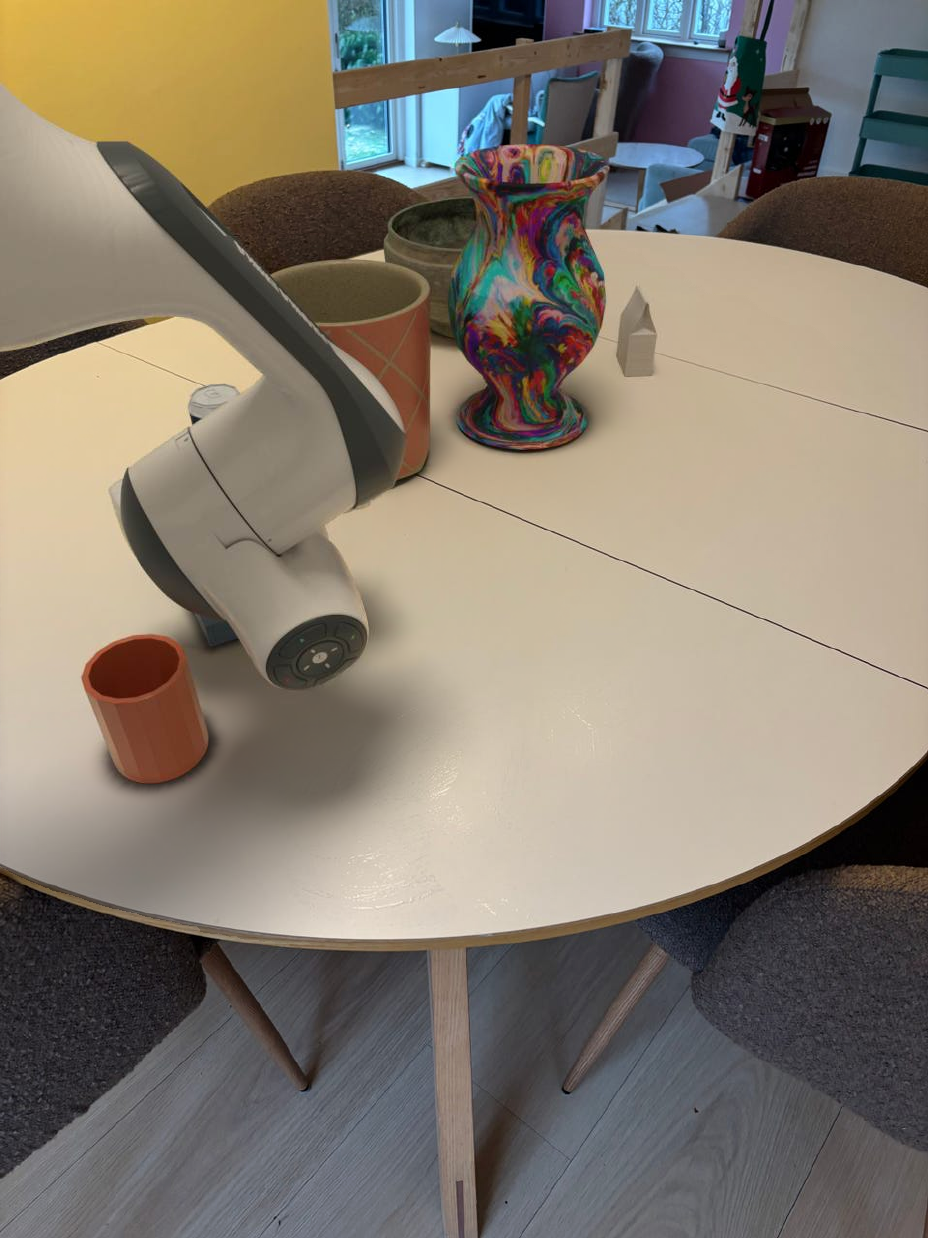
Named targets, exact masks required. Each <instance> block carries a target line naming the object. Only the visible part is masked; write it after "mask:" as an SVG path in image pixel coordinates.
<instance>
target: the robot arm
mask: <svg viewBox="0 0 928 1238" xmlns="http://www.w3.org/2000/svg"><path fill="white" fill-rule="evenodd" d="M167 317H171V318H183V319H187V320H193V321H196V322H198V323H201V324H203V325H205V326H207V327H208V328H210V329H211V330H213V331H214V332H215V333H216V334H217V335H218V336H219V337H220V338H221V339H223V340H224V341H225V342H226V343H227V344H228V345H229V346H231V348H233V349H234V350H235V351H236V352H237V353H238V354H239V355H240V356H242V357H243V358H244V359H245V360H246V361H247V362H248V363H249V364H251V366H253V367H254V369H256V370H257V371H258V372H259V373H260V374H262V375H261V376H260V378H259V379H257V380H256V382H255V383H253V384H252V385H251V386H249V387H248V388H246V389H245V390H243V391H242V392H239V393H240V394H239V395H237V396H236V397H234V398H233V399H231V400H230V401H228V402H227V403H225V404H224V405H222V406H221V407H219V408H218V409H216V410H215V411H213V412H211V413H210V414H208V415H207V416H205V417H204V418H202V419H201V420H199V421H198V422H196V423H195V424H193V425H192V424H191V425H190V426H187V427H185V428H184V429H182V430H181V431H179V432H178V433H176V434H175V435H173V436H172V437H170V438H168V439H167V440H166V441H164V442H163V443H161V444H160V445H158V446H156V447H155V448H154V449H152V450H151V451H150V452H148V453H146V454H145V455H143V456H142V457H141V458H140V459H138V460H137V461H136V462H134V463H133V464H132V465H130V466H128V467H126V469H125V472H124V474H123V476H122V478H120V479H117V481H115V482H114V483H112V484H111V486H110V487H108V494H109V497H110V500H111V504H112V508H113V511H114V514H115V516H116V519H117V522H118V525H119V529H120V532H121V533H122V536H123V538H124V540H125V542H126V544H127V546H128V548H129V550H130V551H131V552H132V554H133V555H134V557H135V558H136V560H137V561H138V562H137V563H139V565H140V567H141V568H142V570H143V571H144V573H145V575H147V576H148V578H149V579H150V580H151V581H152V583H153V584H154V585H155V586H156V587H157V588H158V589H159V591H161V592H162V593H163V594H164V595H165V596H166V597H167V598H168V599H170V601H172V602H173V603H175V604H176V605H178V606H179V607H181V608H183V609H184V610H186V611H189V612H191V613H193V614H194V613H196V614H199V615H201V616H204V617H207V618H210V619H213V620H217V621H223V622H225V621H226V620H227V622H228V623H229V625H230V626H231V627H232V629H233V630H234V632H235V634H236V635H237V637H238V640H239V642H240V644H241V645H242V647H243V648H244V650H245V652H246V654H247V655H248V657H249V658H250V660H251V661H252V663H253V665H254V666H255V668H256V669H257V671H258V672H259V674H260V675H261V676H262V677H263V678H264V679H265V680H266V681H267V682H268V683H269V684H271V685H272V686H274V687H276V688H278V689H282V690H287V691H301V690H302V691H303V690H308V689H313V688H315V687H318V686H321V685H324V684H326V683H327V682H329V681H331V680H332V679H334V678H336V677H338V676H339V675H341V674H342V673H343V672H345V671H346V670H348V669H349V668H350V667H352V666H353V665H354V663H356V662H357V661H358V660H359V658H360V657H361V656H362V654H363V653H364V651H365V649H366V647H367V644H368V641H369V637H370V636H369V634H370V629H369V621H368V616H367V613H366V609H365V606H364V603H363V600H362V597H361V594H360V591H359V589H358V587H357V584H356V581H355V579H354V577H353V574H352V571H351V570H350V568H349V566H348V564H347V561H345V558H344V557H343V555H342V553H341V552H340V550H339V549H338V547H337V546H336V545H335V544H334V543H333V542H332V541H331V540H330V535H329V533H328V529H327V527H326V525H328V524H329V523H332V521H334V520H336V519H338V518H339V517H340V516H341V515H343V514H348V513H352V512H354V511H357V510H363V509H365V508H368V507H370V506H371V504H372V502H373V501H376V500H377V499H378V498H379V497H381V496H382V494H384V493H385V492H388V491H390V490H391V489H392V488H394V487H395V485H396V482H397V481H398V480H397V477H398V475H399V472H400V468H401V465H402V462H403V459H404V455H405V450H406V445H407V439H408V437H407V435H406V434H405V429H404V425H403V421H402V418H401V416H400V413H399V411H398V409H397V407H396V405H395V403H394V402H393V400H392V398H391V397H390V395H389V394H388V392H387V391H386V390H385V388H384V387H383V386H382V384H381V383H380V382H379V381H378V379H377V378H376V377H375V376H374V375H373V374H372V373H371V372H370V371H369V370H368V369H367V368H365V367H364V366H363V365H362V364H361V363H359V362H358V361H357V360H355V359H354V358H353V357H351V356H350V355H348V354H347V353H346V352H344V351H343V350H341V349H340V348H339V347H338V346H337V345H336V344H335V343H334V342H333V341H332V340H331V339H330V338H329V337H328V336H327V335H326V334H325V333H324V332H323V331H322V330H321V329H320V328H319V327H318V326H317V325H316V324H315V323H314V322H313V321H312V319H311V318H310V317H309V316H308V315H307V314H306V313H305V312H304V311H303V310H302V309H301V308H300V307H299V306H298V304H297V303H296V302H295V301H294V300H293V299H292V298H291V297H290V296H289V295H288V294H287V293H286V291H285V290H284V289H283V288H282V287H281V286H280V285H279V284H278V283H277V282H276V281H275V280H274V279H273V277H272V276H271V274H270V273H269V272H268V271H267V270H266V269H265V267H263V266H262V265H261V263H260V262H259V260H257V259H256V258H255V257H254V256H253V255H252V254H251V252H249V250H248V249H247V248H246V247H245V246H244V245H243V244H242V243H241V242H240V241H239V240H238V239H237V238H236V236H235V235H234V234H233V233H232V232H231V231H230V230H229V229H228V228H227V227H226V226H225V225H224V224H223V223H222V222H221V221H220V220H219V219H218V218H217V216H215V214H214V213H212V212H211V211H210V209H209V208H208V207H206V205H205V204H204V203H203V202H202V201H201V200H200V199H199V198H198V197H197V196H196V195H195V194H193V192H192V191H191V190H190V189H189V188H188V187H187V186H186V185H185V184H184V183H183V182H182V181H181V180H179V178H178V177H176V175H174V173H172V172H171V171H170V170H168V169H167V167H165V166H164V165H163V164H162V163H161V162H159V161H158V160H157V159H155V158H154V157H153V156H151V155H150V154H149V153H148V152H145V150H143V149H142V148H139V147H138V146H136V145H134V144H133V143H131V142H130V141H127V140H126V141H125V140H121V141H119V140H118V141H117V140H116V141H114V140H110V141H107V140H106V141H105V140H104V141H102V140H100V141H96V142H93V141H91V140H88V139H86V138H83V137H81V136H78V135H77V134H74V133H71V132H70V131H67V130H66V129H63V128H62V127H60V126H58V125H56V124H55V123H53V122H51V121H49V120H47V119H46V118H44V117H43V116H41V115H40V114H38V112H37V113H36V112H35V111H34V110H33V109H31V108H30V107H29V106H27V105H26V104H25V103H23V102H22V101H21V100H20V99H19V98H17V96H15V94H13V93H12V92H11V91H10V90H9V89H8V88H7V87H6V86H5V85H4V84H3V83H2V82H1V81H0V353H1V352H10V351H16V350H21V349H25V348H30V347H34V346H36V345H40V344H43V343H47V342H48V341H49V342H50V341H53V340H55V339H59V338H62V337H65V336H68V335H73V334H75V333H76V334H77V333H79V332H82V331H87V330H90V329H91V330H92V329H94V328H98V327H103V326H107V325H113V324H118V323H122V322H129V321H134V320H135V321H136V320H142V319H151V318H152V319H153V318H167Z"/></svg>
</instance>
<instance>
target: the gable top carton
mask: <svg viewBox="0 0 928 1238" xmlns="http://www.w3.org/2000/svg"><path fill="white" fill-rule="evenodd" d="M657 339H658V333H657V330H656V327H655V324H654V322H653V319H652V315H651V311H650V304H649V302H648V300H647V298H646V296H645V294H644V292H643V290H642V288H641V287H640V285H636V286H635V288H634V291H633V292H632V295H631V296H630V299H629V300H628V302H627V304H626V305H625V307H624V309H623V311H622V312H621V314H620V318H619V326H618V337H617V343H616V344H617V346H616V355H615V356H616V359H617V361H618V364H619V366H620V368H621V371H622V374H623V376H624V377H651V376H652V375H653V367H654V359H655V352H656V345H657Z"/></svg>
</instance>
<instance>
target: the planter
mask: <svg viewBox="0 0 928 1238" xmlns="http://www.w3.org/2000/svg"><path fill="white" fill-rule="evenodd" d="M270 275H271V276H272V277H273V279H274V280H275V281H276V282H277V283H278V284H279V285H280V286H281V287H282V288H283V289H284V290H285V291H286V293H287V294H288V295H289V296H290V297H291V298H292V299H293V300H294V301H295V302H296V303H297V304H298V306H299V307H300V308H301V309H302V310H303V311H304V312H305V313H306V314H307V315H308V316H309V317H310V318H311V319H312V321H313V322H314V323H315V324H316V325H317V326H318V327H319V328H320V329H321V330H322V331H323V332H324V333H325V334H326V335H327V336H328V337H329V338H330V339H331V340H332V341H333V342H334V343H335V344H336V345H337V346H338V347H339V348H340V349H341V350H343V351H344V352H346V353H347V354H348V355H350V356H351V357H353V358H354V359H355V360H357V361H358V362H359V363H361V364H362V365H363V366H364V367H365V368H367V369H368V370H369V371H370V372H371V373H372V374H373V375H374V376H375V377H376V378H377V379H378V381H379V382H380V383H381V384H382V386H383V387H384V388H385V390H386V391H387V392H388V394H389V395H390V397H391V398H392V400H393V402H394V403H395V405H396V407H397V409H398V411H399V413H400V416H401V418H402V421H403V425H404V429H405V434H406V435H407V437H408V439H407V445H406V450H405V455H404V459H403V462H402V465H401V468H400V472H399V475H398V477H397V480H396V481H399V480H401V479H404V478H407V477H410V476H413V475H415V474H417V473H420V472H421V470H422V469H423V468H424V466H425V462H426V459H427V456H428V455H429V454H428V453H429V450H430V443H431V328H430V287H429V284H428V282H427V280H426V279H425V278H424V277H423V276H421V275H420V274H419V273H417V272H415V271H413V270H411V269H408V268H406V267H403V266H400V265H396V264H392V263H387V262H385V261H380V260H371V259H357V258H355V259H351V258H350V259H346V258H345V259H330V260H329V259H328V260H320V261H313V262H307V263H302V264H298V265H293V266H290V267H286V268H283V269H280V270H278V271H275V272H272V273H271V274H270Z"/></svg>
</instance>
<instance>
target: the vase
mask: <svg viewBox="0 0 928 1238" xmlns="http://www.w3.org/2000/svg"><path fill="white" fill-rule="evenodd" d="M610 167H611V166H610V163H608V161H607V160H606V159H605V158H604V157H603V156H600V155H599V154H597V153H594V152H591V151H588V150H585V149H581V148H575V147H571V146H564V145H563V146H562V145H555V144H537V143H534V144H532V143H531V144H530V143H529V144H528V143H527V144H526V143H522V144H505V145H498V146H497V145H496V146H489V147H484V148H479V149H476V150H473V151H470V152H468V153H465V154H463V155H462V156H461V157H459V158H458V159H457V160H456V161H455V163H454V166H453V168H454V173H455V175H456V176H457V178H458V179H459V180H460V181H461V182H462V183H463V184H464V186H465V187H466V188H467V189H468V191H469V193H470V195H471V197H473V199H474V201H475V204H476V224H475V226H474V228H473V230H472V232H471V234H470V236H469V238H468V241H467V243H466V245H465V247H464V248H463V250H462V252H461V254H460V256H459V258H458V260H457V262H456V264H455V265H454V267H453V269H452V272H451V278H450V285H449V291H448V297H447V300H448V310H449V321H450V325H451V328H452V332H453V335H454V338H453V339H454V342H455V344H456V346H457V347H458V349H459V351H460V352H461V354H462V355H463V356H464V358H465V359H466V361H467V363H469V365H471V366H472V368H474V370H476V372H478V373H479V374H480V376H482V378H483V380H484V382H485V383H486V386H485V387H484V389H483V388H482V389H481V390H479V391H477V392H474V393H473V394H471V395H470V396H469V397H468V398H467V399H465V401H463V403H462V404H461V405H460V406H459V408H458V409H457V411H456V417H455V418H456V422H457V425H458V426H459V428H460V429H461V430H462V432H464V434H466V435H467V436H469V437H470V438H471V439H474V440H476V441H478V442H481V443H483V444H486V445H490V446H493V447H496V448H502V449H509V450H539V449H546V448H552V447H556V446H559V445H562V444H565V443H567V442H570V441H572V440H573V439H576V438H577V437H578V436H580V434H581V433H583V432H584V430H585V429H586V427H587V425H588V420H589V419H588V414H587V411H586V409H584V407H583V406H582V405H581V403H580V402H579V401H578V400H576V398H575V397H574V396H572V395H570V394H568V393H567V392H565V391H563V390H562V389H561V388H560V386H561V384H562V383H563V381H564V380H565V378H566V377H568V376H569V375H570V374H571V373H572V372H573V371H574V370H576V369H577V368H578V367H579V366H580V365H581V364H582V363H583V361H584V360H585V359H586V358H587V356H588V355H589V354H590V352H592V350H593V348H594V347H595V345H596V342H597V340H598V337H599V335H600V332H601V329H602V327H603V322H604V317H605V311H606V305H607V294H606V293H607V292H606V291H607V290H606V281H605V279H606V278H605V272H604V270H603V267H602V266H601V263H600V261H599V258H598V257H597V254H596V252H595V250H594V247H593V246H592V243H591V241H590V238H589V236H588V233H587V230H586V228H585V226H584V218H585V210H586V204H587V202H588V201H589V199H590V198H591V196H592V195H593V192H594V191H595V190H596V189H597V188H598V186H600V184H601V183H602V182H603V181H605V180H606V178H607V177H608V176H609V172H610V169H611V168H610Z"/></svg>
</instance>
